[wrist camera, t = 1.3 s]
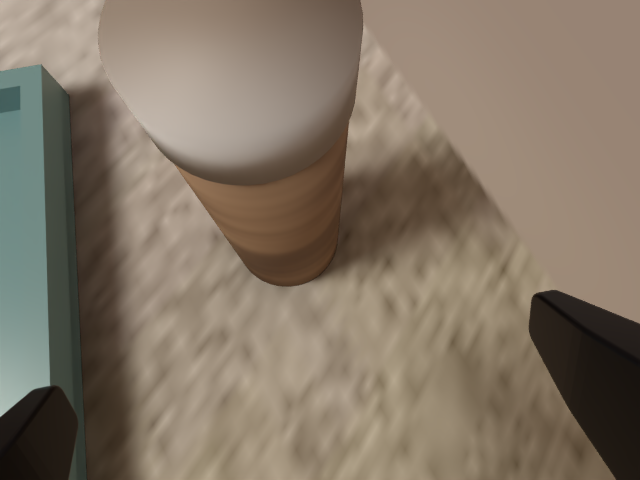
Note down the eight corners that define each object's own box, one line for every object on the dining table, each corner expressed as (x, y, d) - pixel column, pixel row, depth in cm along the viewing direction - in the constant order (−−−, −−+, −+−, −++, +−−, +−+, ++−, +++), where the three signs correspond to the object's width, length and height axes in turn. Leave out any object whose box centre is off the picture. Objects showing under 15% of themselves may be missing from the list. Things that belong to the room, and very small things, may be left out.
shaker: (349, 277, 22) (390, 111, 8) (243, 298, 21) (107, 163, 8) (328, 180, 23) (334, -97, 10) (228, 198, 23) (90, -58, 9)
